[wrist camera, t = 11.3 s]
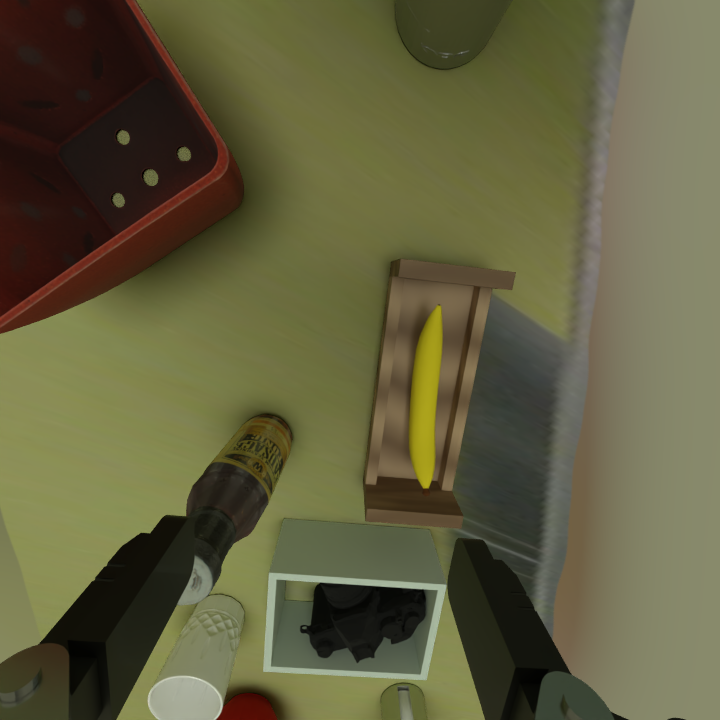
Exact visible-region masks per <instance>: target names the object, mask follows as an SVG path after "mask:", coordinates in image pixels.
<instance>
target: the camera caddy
mask: <svg viewBox="0 0 720 720" xmlns="http://www.w3.org/2000/svg"><path fill="white" fill-rule="evenodd" d="M286 580H292V581H307V582H322V583H337V584H351V585H366V586H381V587H396V588H411V589H423V590H424V594H425V598H426V601H425V602H424V603H425V613H426V615H425V618H424V620H423V621H422V622H421V623H419V624H418V626H417V628H416V630H415V631H414V633H413V634H412V636H411V637H410V638H409V639H407V640H405V641H402V642H399V643H397V644H392V645H391V639H387V638H385V637H384V638H383V641H382V643H381V644H380V646H379V647H378V648H377V650H376V652H375V655H374V656H375V658H371V657H369V658H366V659H363V660H360V661H359V663H357V662H356V660H355V659H354V656H353V654H352V653H351V652H350V651H349V649H348V648H345V649H342V650H337V651H333V653H332V654H331V656H330V657H328V658H321V657H318V654H317V651H316V650H315V649H314V648H313V647H312V645H311V644H310V637H309V635H308V634H306V633H304V634H303V633H301V632H300V626H302V625H307V626H309V625H311V618H312V609H313V602H306V601H290V600H284V599H285V585H286ZM446 585H447V584H446V581H445V578H444V575H443V571H442V568H441V565H440V562H439V558H438V555H437V552H436V549H435V545H434V542H433V539H432V536H431V533H430V530H428V529H415V528H402V527H389V526H376V525H363V524H350V523H337V522H324V521H311V520H298V519H284V520H283V524H282V527H281V531H280V535H279V538H278V542H277V545H276V549H275V553H274V556H273V560H272V564H271V567H270V571H269V582H268V599H267V617H266V634H265V651H264V668H263V672H282V673H301V674H319V675H338V676H357V677H376V678H395V679H414V680H426V679H427V675H428V670H429V665H430V661H431V656H432V651H433V647H434V642H435V637H436V632H437V628H438V623H439V618H440V614H441V609H442V604H443V600H444V595H445V590H446ZM302 629H306V627H302Z"/></svg>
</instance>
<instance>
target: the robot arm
mask: <svg viewBox="0 0 720 720" xmlns="http://www.w3.org/2000/svg"><path fill="white" fill-rule="evenodd" d="M511 2H512V0H396V3H395V13H396V22H397V26H398V31H399V33H400V36H401V38H402V40H403V43H404V44H405V46H406V47H407V48H408V50H409V51H410V53H411V54H412V55H413V56H415V57H416V58H417V59H418V60H419V61H421V62H422V63H424V64H426V65H428V66H431V67H434V68H438V69H450V68H454V67H459V66H461V65H463V64H465V63H467V62H469V61H470V60H472V59H473V58H474V57H475V56H477V55H478V54H479V52H480V51H481V50H482V49H483V48H484V46H485V45H486V44H487V42H488V40H489V39H490V37H491V35H492V34H493V32H494V30H495V28H496V27H497V25H498V23H499V22H500V20H501V18H502V17H503V15H504V13H505V12H506V10H507V9H508V7H509V5H510V3H511ZM194 560H195V535H194V518H193V517H187V516H174V515H165V516H164V517H163V518H162V519H161V520H160V521H159V523H158V524H157V525H156V527H155V528H154V529H153V531H152V532H151V533H140V534H139V535H137V536H136V537H134V538H133V539H132V540H130V541H129V542H127V543H126V544H124V545H123V546H122V547H121V548H120V549H119V550H118V551H117V553H116V554H115V555H114V556H113V557H112V558H111V560H110V561H109V562H108V564H107V566H106V567H104V568H103V569H102V570H101V571H100V573H99V574H98V575H97V576H96V577H95V580H94V581H92V582H91V583H90V584H89V586H88V587H87V588H86V589H85V590H84V592H83V593H82V594H81V595H80V596H79V598H78V599H77V600H76V601H75V602H74V603H73V605H72V606H71V607H70V608H69V609H68V611H67V612H66V613H65V614H64V615H63V616H62V618H61V619H60V620H59V621H58V622H57V624H56V625H55V626H54V627H53V628H52V629H51V631H50V632H49V633H48V634H47V635H46V637H45V638H44V639H43V640H42V641H41V642H40V644H38V645H36V646H32V647H30V648H27V649H25V650H22V651H20V652H18V653H16V654H14V655H13V656H11V657H10V658H8V659H6V660H5V661H3V662H2V663H1V664H0V720H116V719H117V717H118V715H119V713H120V711H121V709H122V708H123V706H124V704H125V702H126V700H127V698H128V696H129V694H130V692H131V691H132V689H133V687H134V685H135V683H136V681H137V679H138V677H139V675H140V673H141V672H142V670H143V668H144V666H145V664H146V662H147V660H148V658H149V656H150V655H151V653H152V651H153V649H154V647H155V645H156V643H157V641H158V639H159V638H160V636H161V634H162V632H163V630H164V628H165V626H166V624H167V622H168V620H169V619H170V617H171V615H172V613H173V611H174V609H175V607H176V605H177V603H178V602H179V600H180V598H181V596H182V594H183V592H184V590H185V588H186V586H187V584H188V582H189V580H190V577H191V574H192V571H193V567H194ZM448 596H449V601H450V605H451V608H452V611H453V615H454V618H455V621H456V625H457V628H458V631H459V635H460V638H461V641H462V645H463V648H464V651H465V654H466V658H467V661H468V664H469V668H470V671H471V674H472V678H473V681H474V684H475V688H476V691H477V694H478V697H479V701H480V704H481V707H482V711H483V714H484V717H485V720H628V719H626V718H623V717H621V716H619V715H616V714H614V713H612V712H611V711H610V710H609V708H608V707H607V705H606V704H605V702H604V701H603V700H602V699H601V698H600V697H599V696H598V694H597V693H596V692H595V691H594V690H593V689H592V688H591V687H589V686H588V685H587V684H586V683H584V682H583V681H582V680H580V679H578V678H576V677H575V676H573V675H572V674H571V673H570V671H569V669H568V668H567V666H566V664H565V662H564V661H563V659H562V657H561V655H560V653H559V652H558V649H557V648H556V646H555V644H554V642H553V640H552V639H551V637H550V635H549V633H548V631H547V630H546V628H545V626H544V624H543V622H542V620H541V619H540V617H539V615H538V613H537V611H535V610H534V606H533V604H532V602H531V601H530V599H529V597H528V596H526V592H525V590H524V588H523V586H522V584H521V582H520V581H519V579H518V577H517V575H516V574H515V573H514V572H513V571H512V570H511V569H510V568H509V567H508V566H507V565H506V564H505V563H504V562H503V561H502V560H494V559H493V557H492V555H491V553H490V551H489V549H488V547H487V545H486V543H485V542H484V541H483V540H480V539H466V538H458V539H457V540H456V543H455V547H454V552H453V556H452V561H451V566H450V571H449V575H448ZM668 720H685V719H680V718H671V719H668Z"/></svg>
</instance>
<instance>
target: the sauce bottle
mask: <svg viewBox="0 0 720 720" xmlns="http://www.w3.org/2000/svg"><path fill="white" fill-rule="evenodd" d="M291 443H292V435H291V432H290V429H289V428H288V426H287V424H285V422H284V421H283V420H281V419H279V418H277V417H274V416H270V415H266V414H265V415H260V416H256V417H254V418H252V419H250V420H248V421H247V422H246V423H245V424H243V425H242V426H241V428H240V429H239V430H238V431H237V432H236V434H235V435H234V436H233V437H232V438H231V440H230V441H229V442H228V443H227V444H226V446H225V447H224V448H223V449H222V450H221V452H220V453H219V454H218V455H217V456H216V458H215V459H214V460H213V461H212V462H211V463H210V465H209V466H208V467H207V468H206V470H205V471H204V473H203V475H202V476H201V477H200V478H199V479H198V481H197V482H196V483H195V484H194V485H193V487H192V489H191V491H190V494H189V497H188V499H187V509H186V516H187V517H193V518H194V535H195V560H194V567H193V571H192V574H191V577H190V580H189V582H188V584H187V586H186V588H185V590H184V592H183V594H182V596H181V598H180V600H179V602H178V603H177V605H191V604H196V603H198V602H200V601H202V600H203V599H204V598H205V597H207V596H208V595H209V593H210V592H211V591H212V589H213V587H214V585H215V583H216V582H217V580H218V578H219V576H220V574H221V566H222V564H223V561H224V559H225V556H226V555H227V553H228V551H229V549H230V548H231V547H232V545H233V544H234V543H235V542H237V541H239V540H240V539H242V538H244V537H246V536H248V535H249V534H250V533H251V532H252V531H253V529H254V528H255V526H256V524H257V522H258V520H259V519H260V517H261V515H262V513H263V512H264V510H265V508H266V506H267V505H268V503H269V501H270V498H271V496H272V494H273V491H274V489H275V487H276V484H277V482H278V480H279V477H280V475H281V473H282V470H283V468H284V466H285V463H286V461H287V459H288V456H289V454H290V451H291Z"/></svg>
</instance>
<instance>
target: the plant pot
mask: <svg viewBox="0 0 720 720" xmlns="http://www.w3.org/2000/svg"><path fill="white" fill-rule="evenodd" d="M119 129H124V130H126V131H127V132H128V133H129V135H130V140H129V143H128V144H126V145H122V144H121V143H118V142H117V140H116V138H115V134H116V132H117V131H118V130H119ZM181 146H186V147H187V148H188V149H189V150H190V152H191V159H190V160H188V161H184V162H183V161H180V160H179V159H178V158H177V156H176V151H177V149H178V148H179V147H181ZM147 168H151V169H153V170H155V171H156V172H157V174H158V178H159V179H158V183H157V184H156V185H155V186H148V185H147V184H145V183H144V181H143V180H142V172H143V171H144V170H145V169H147ZM115 192H117V193H120V194H122V195H123V197H124V199H125V204H124V206H123V207H120V208H118V207H115V206H114V205H113V204H112V202H111V196H112V194H113V193H115ZM243 195H244V184H243V179H242V176H241V173H240V170H239V168H238V166H237V163H236V161H235V159H234V157H233V155H232V154H231V152H230V150H229V149H228V147H227V145H226V144H225V142H224V140H223V139H222V137H221V136H220V134H219V133H218V131H217V129H216V128H215V126H214V125H213V123H212V121H211V120H210V118H209V117H208V115H207V114H206V112H205V110H204V109H203V107H202V106H201V104H200V102H199V101H198V99H197V98H196V96H195V95H194V93H193V91H192V90H191V88H190V86H189V85H188V83H187V82H186V80H185V78H184V77H183V75H182V74H181V72H180V70H179V69H178V67H177V65H176V64H175V62H174V61H173V59H172V57H171V56H170V54H169V53H168V51H167V49H166V48H165V46H164V45H163V43H162V41H161V40H160V38H159V37H158V35H157V33H156V32H155V30H154V29H153V27H152V25H151V24H150V22H149V21H148V19H147V17H146V16H145V14H144V13H143V11H142V9H141V8H140V6H139V5H138V3H137V1H136V0H0V334H1V333H4V332H8V331H11V330H14V329H17V328H20V327H23V326H26V325H29V324H31V323H34V322H37V321H40V320H43V319H46V318H48V317H51V316H53V315H56V314H58V313H61V312H63V311H65V310H68V309H70V308H72V307H74V306H77V305H79V304H81V303H84V302H86V301H88V300H90V299H92V298H95V297H97V296H99V295H100V294H102V293H105V292H107V291H109V290H110V289H112V288H114V287H116V286H118V285H120V284H121V283H123V282H125V281H127V280H128V279H130V278H132V277H133V276H135V275H137V274H139V273H140V272H142V271H143V270H145V269H146V268H148V267H149V266H151V265H152V264H154V263H155V262H157V261H158V260H160V259H161V258H163V257H164V256H166V255H167V254H169V253H170V252H172V251H173V250H175V249H176V248H178V247H180V246H181V245H183V244H184V243H186V242H187V241H189V240H190V239H192V238H193V237H195V236H196V235H198V234H199V233H201V232H202V231H204V230H205V229H207V228H208V227H210V226H211V225H213V224H214V223H216V222H217V221H219V220H220V219H222V218H223V217H225V216H226V215H228V214H229V213H231V212H232V211H234V210H235V209H237V208H238V207H239V205H240V204H241V202H242V200H243Z"/></svg>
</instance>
